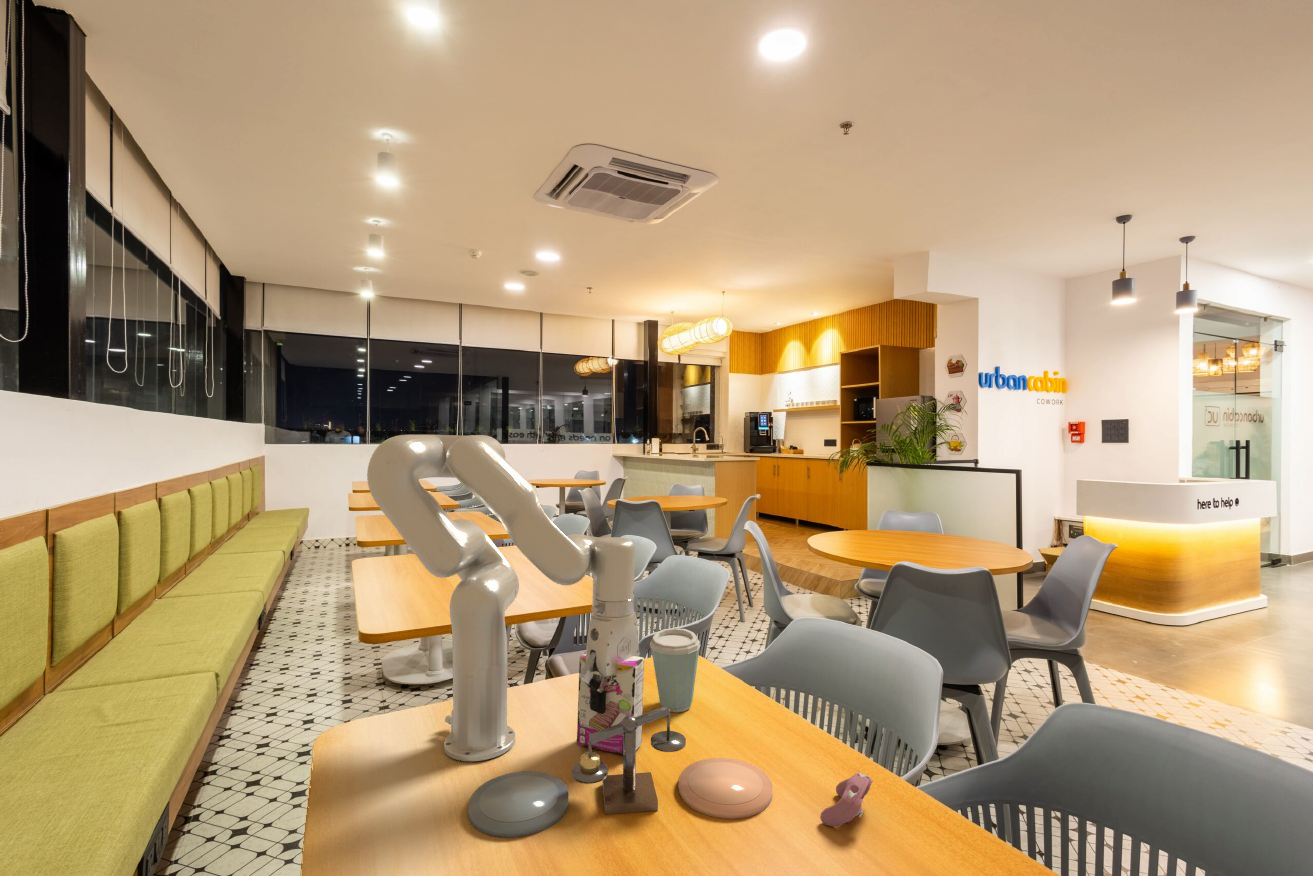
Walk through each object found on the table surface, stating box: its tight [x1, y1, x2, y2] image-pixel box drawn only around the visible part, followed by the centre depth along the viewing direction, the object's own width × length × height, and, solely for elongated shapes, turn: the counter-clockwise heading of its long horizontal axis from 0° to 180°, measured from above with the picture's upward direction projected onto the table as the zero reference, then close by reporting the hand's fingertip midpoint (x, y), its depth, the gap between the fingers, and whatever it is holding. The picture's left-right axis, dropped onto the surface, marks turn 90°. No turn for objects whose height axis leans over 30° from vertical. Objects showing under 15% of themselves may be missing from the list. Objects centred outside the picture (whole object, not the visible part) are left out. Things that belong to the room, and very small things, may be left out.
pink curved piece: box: [819, 770, 874, 828], centre depth 94 cm, size 10×5×7 cm, turn 148°
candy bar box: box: [576, 651, 645, 755], centre depth 113 cm, size 11×5×16 cm, turn 71°
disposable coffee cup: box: [649, 627, 701, 713], centre depth 130 cm, size 11×11×15 cm
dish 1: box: [467, 770, 570, 839], centre depth 95 cm, size 15×15×1 cm
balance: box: [571, 705, 687, 816], centre depth 98 cm, size 18×8×14 cm, turn 98°
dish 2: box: [678, 757, 773, 820], centre depth 100 cm, size 15×15×1 cm
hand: (610, 704), depth 113 cm, fingers closed on candy bar box, 6 cm apart
